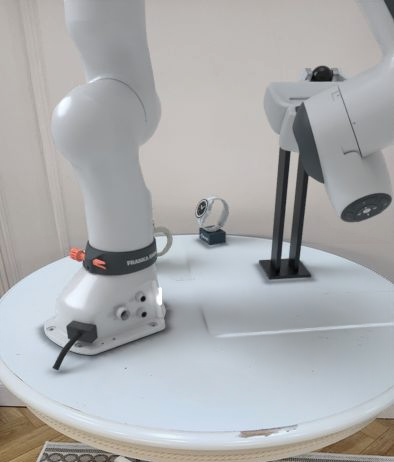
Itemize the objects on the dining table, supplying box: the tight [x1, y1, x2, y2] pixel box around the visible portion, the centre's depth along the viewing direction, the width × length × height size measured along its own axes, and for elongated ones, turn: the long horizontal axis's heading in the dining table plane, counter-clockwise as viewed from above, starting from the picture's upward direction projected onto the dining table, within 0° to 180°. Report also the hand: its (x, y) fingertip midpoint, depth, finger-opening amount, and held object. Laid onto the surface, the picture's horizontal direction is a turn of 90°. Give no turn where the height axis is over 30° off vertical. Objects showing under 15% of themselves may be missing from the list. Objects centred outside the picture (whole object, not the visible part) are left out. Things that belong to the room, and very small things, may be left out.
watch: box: [194, 195, 230, 246], centre depth 126 cm, size 6×8×11 cm
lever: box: [311, 64, 333, 82], centre depth 92 cm, size 17×4×4 cm
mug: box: [153, 219, 174, 258], centre depth 115 cm, size 8×13×10 cm, turn 115°
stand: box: [258, 146, 312, 281], centre depth 106 cm, size 9×9×30 cm
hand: (319, 71), depth 86 cm, fingers closed on lever, 3 cm apart
